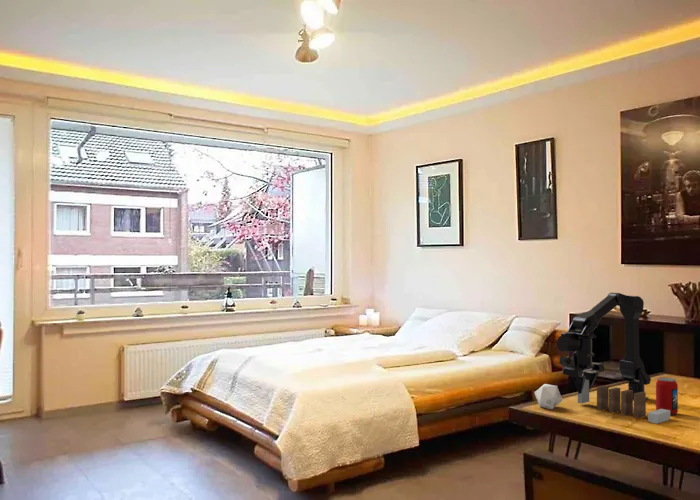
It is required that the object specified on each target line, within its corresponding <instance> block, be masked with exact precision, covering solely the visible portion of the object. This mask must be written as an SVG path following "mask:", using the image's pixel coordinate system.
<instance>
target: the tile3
mask: <svg viewBox="0 0 700 500" xmlns="http://www.w3.org/2000/svg"><path fill="white" fill-rule="evenodd" d="M620 399H621V411H620V415H621V414H622V416H629V415H632V414H634V399H633V390H628V389H625V390H622V391H621V390H620Z"/></svg>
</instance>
